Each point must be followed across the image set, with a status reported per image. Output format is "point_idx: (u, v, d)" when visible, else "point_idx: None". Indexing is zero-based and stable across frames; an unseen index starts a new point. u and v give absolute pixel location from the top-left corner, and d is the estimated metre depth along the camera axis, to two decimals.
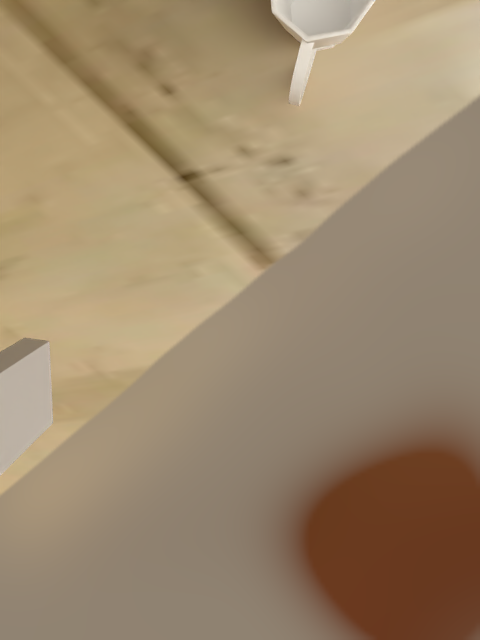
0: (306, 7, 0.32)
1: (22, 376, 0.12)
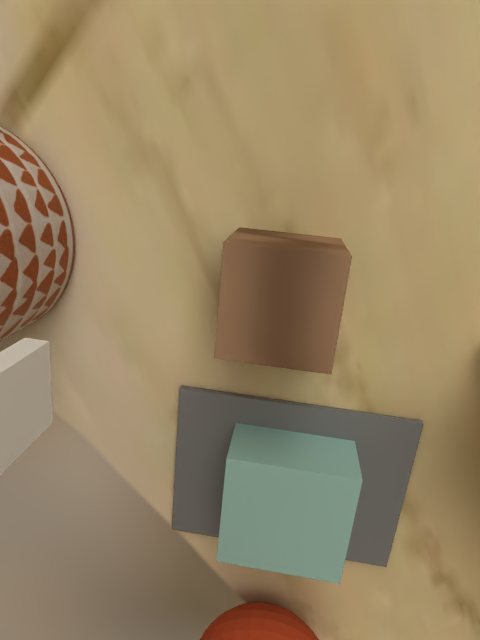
0: None
1: (22, 376, 0.12)
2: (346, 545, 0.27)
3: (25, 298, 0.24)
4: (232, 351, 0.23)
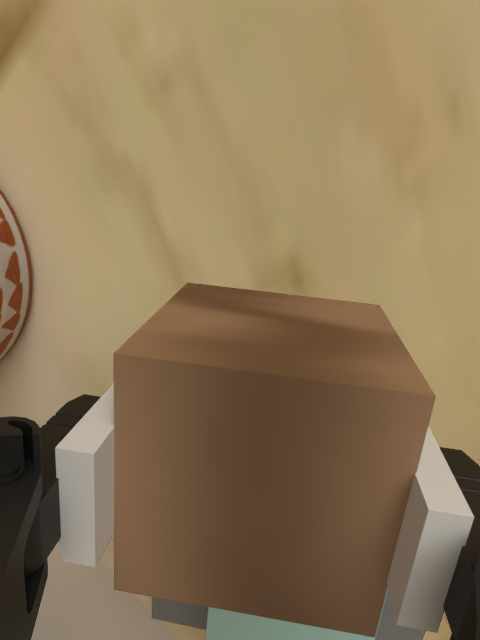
0: None
1: None
2: None
3: None
4: (152, 579, 0.10)
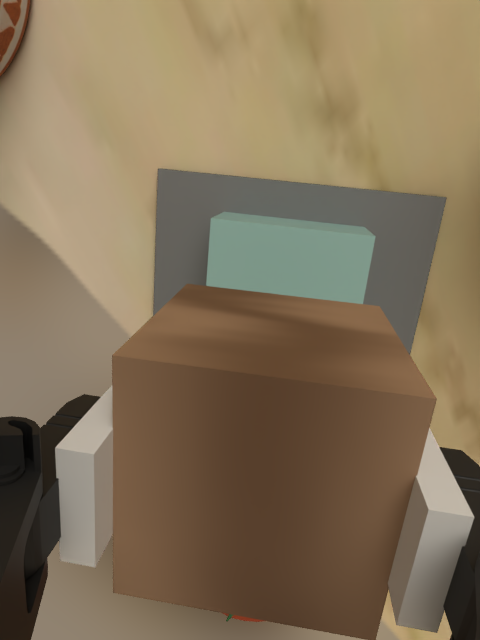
0: None
1: None
2: None
3: None
4: (151, 582, 0.10)
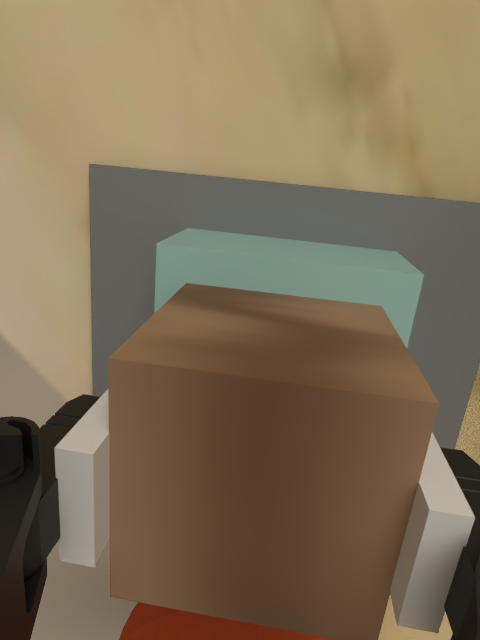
0: None
1: None
2: None
3: None
4: (149, 587, 0.10)
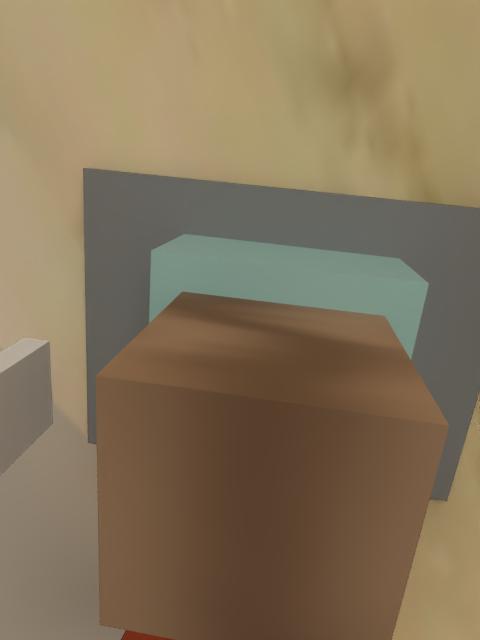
0: None
1: (22, 376, 0.12)
2: None
3: None
4: (140, 615, 0.09)
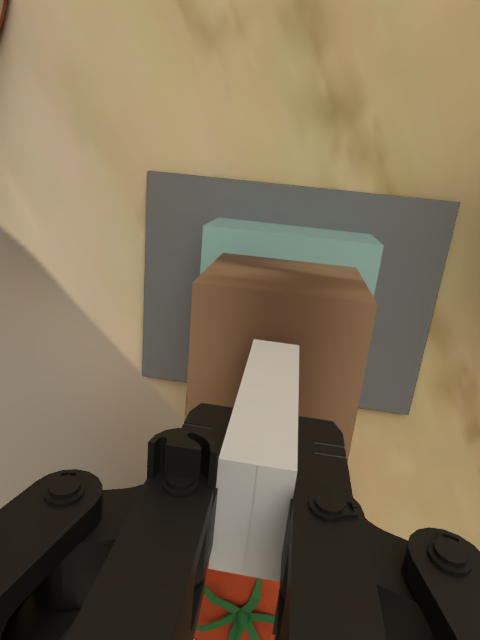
0: None
1: None
2: None
3: None
4: None
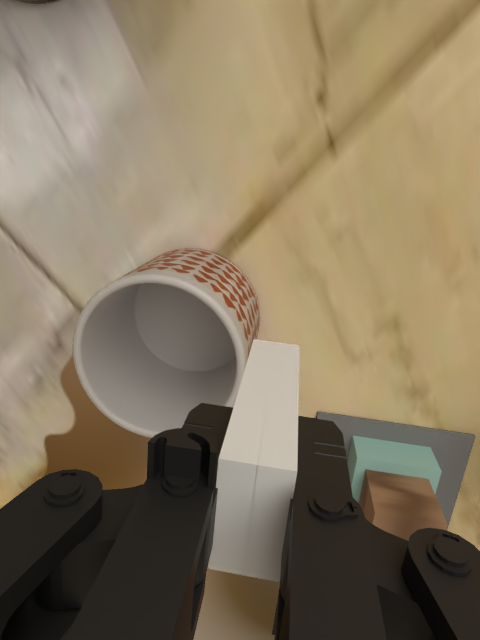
0: None
1: None
2: None
3: None
4: None
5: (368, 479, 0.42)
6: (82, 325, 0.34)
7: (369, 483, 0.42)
